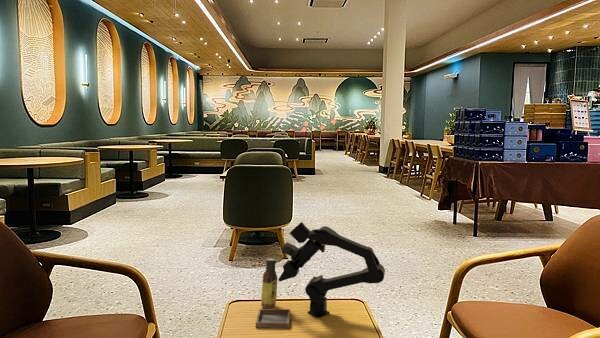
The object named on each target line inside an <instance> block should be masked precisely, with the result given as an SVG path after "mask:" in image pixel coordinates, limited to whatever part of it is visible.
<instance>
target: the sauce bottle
mask: <svg viewBox="0 0 600 338" xmlns="http://www.w3.org/2000/svg"><path fill="white" fill-rule="evenodd" d="M265 263H266V265H265V269H266V270H265V271H264V272H263V274H262V282H261V297H260V302H261V304H260V305H261V307H262V308H263V309H274V308H275V307H276V303H277V291H278V275H277V272H276V263H277V259H275V258H270V257H269V258H266V259H265Z"/></svg>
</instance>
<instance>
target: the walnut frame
mask: <svg viewBox="0 0 600 338" xmlns="http://www.w3.org/2000/svg"><path fill="white" fill-rule="evenodd" d="M290 318H291V309H287V308H285V309H284V308H282V309H279V308H277V309H276V308H275V309H274V308H259V309H258V313H257V316H256V321H255V329H289V328H290Z"/></svg>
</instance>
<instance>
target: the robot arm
mask: <svg viewBox="0 0 600 338" xmlns="http://www.w3.org/2000/svg"><path fill="white" fill-rule="evenodd" d="M289 234H290V235H291V237H292V238H293V239H294V240H295V241H296V242H297V243H298V244H303V245H302V246H300V247H297V246H296V245H294V244H292V243H290V242H285V243H284V245H283V247H282V249H281V253H283V254H286V255H287V256H289V257H290V259H291V260H287V261H286V262H285V263H284V264H283V265H282V269H283V272H282V273H281V274H280V276H279V278H277V281H278V282H284V281H286V280H288V279H292V278H295V277H297V275H298V274H299V273H300V269H302V268H303V267H304V266H305V265H306V264H307V263H308V262H309V261H310V260H311V259H312V258H313V257H314V256H315V255H316V254H317V253H318V252H319V251H320V252H322V253H325V251H326V246H332V247H333V246H334V247H337V248H340V249H342V250H344V251H347V252H349V253H352V254H354V255H356V256H358V257H361V258H363V260H364V262H365V264H366V267H365V268H363V269H362V270H359V271H355V272H351V273H346V274H342V275H338V276H334V277H329V278H326V277H325V278H324V275H323V274H321V275H318V276H313V277H312V278H311V279H310V280H309V282H308V283H307V284H306V286H305V287H304V288H305V289H304V291H305V294H306V295H307V296H308V297H309V300H310V301H309V302H310V303H309V310H308V311H307V314H308V315H312V316H313V317H315V318H322V317H323V316H326V315H329V314H330V311H328V309H327V301H328V299H327V297H326V296H327V293H328V291H332V290H335V289H340V288H344V287H349V286H352V285H358V284H363V283H364V284H380V283H382V282H383V281H384V279H385V274H386V273H385V272H386V268H385V267H384V266H383V264H381V263H380V260H379V259H378V257H377V256H376V253H375V252H374V250H373V248H372V247H370V246H366V245H364V244H362V243H359V242H357V241H354V240H351V239H349V238H348V237H345V236H343V235H340V234H339V233H337V232H336V231H335V230H333V229H332V228H330V227H329V226H326V225H324V226H321V227H320V228H318V229H317V228H315V229H312V230H310V229H309V228H308V227H307V226H306V225H305V223H303V222H302V221H300V223H298V225H296V226H295V227H294V228H293V229H292V230H291V231H290V232H289Z"/></svg>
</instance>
